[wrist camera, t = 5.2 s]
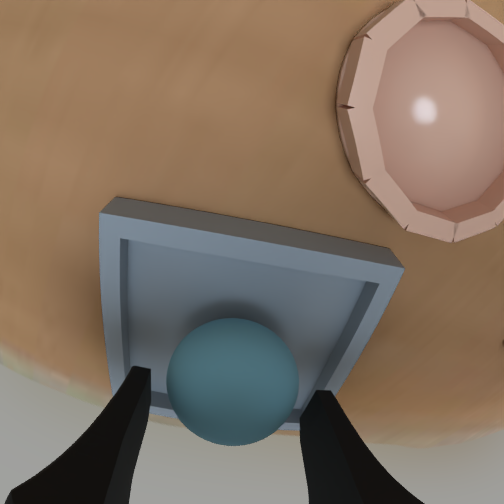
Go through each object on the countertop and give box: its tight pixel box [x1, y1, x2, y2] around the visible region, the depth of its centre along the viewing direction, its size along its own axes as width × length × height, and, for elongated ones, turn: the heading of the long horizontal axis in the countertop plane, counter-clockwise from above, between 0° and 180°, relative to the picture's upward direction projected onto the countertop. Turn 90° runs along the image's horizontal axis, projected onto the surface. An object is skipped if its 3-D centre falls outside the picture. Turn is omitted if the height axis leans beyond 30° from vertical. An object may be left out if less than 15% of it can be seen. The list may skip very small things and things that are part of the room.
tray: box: [99, 197, 405, 430], centre depth 14 cm, size 11×11×2 cm
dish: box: [336, 0, 504, 243], centre depth 9 cm, size 9×9×2 cm
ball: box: [166, 318, 299, 446], centre depth 12 cm, size 5×5×5 cm
